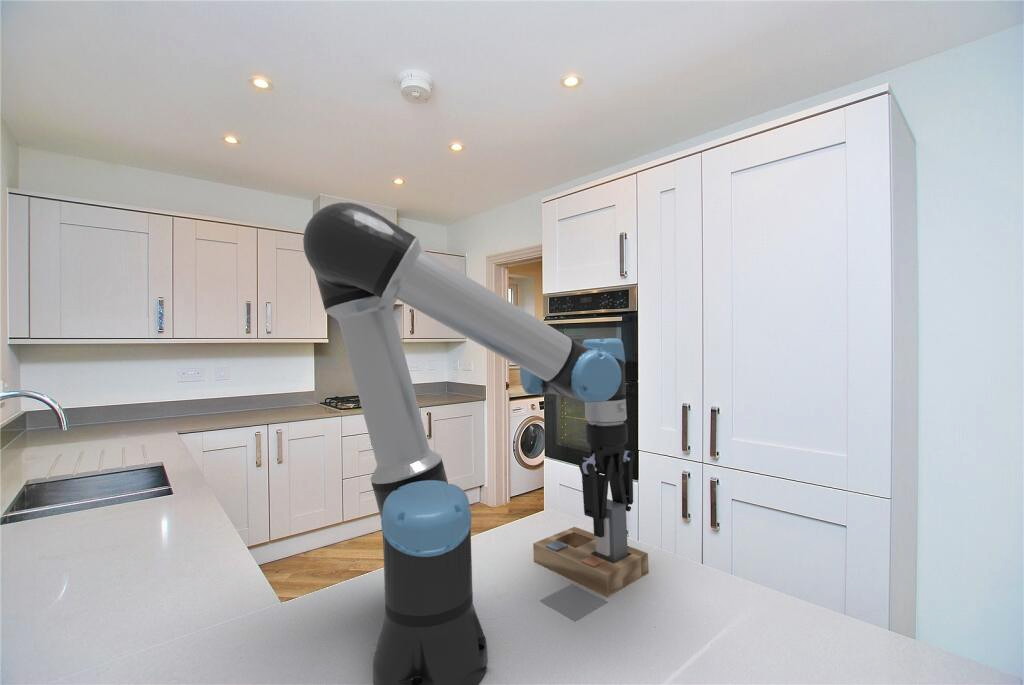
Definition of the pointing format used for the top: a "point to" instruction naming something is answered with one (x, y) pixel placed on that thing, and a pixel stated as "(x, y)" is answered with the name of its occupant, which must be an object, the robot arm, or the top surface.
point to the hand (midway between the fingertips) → (611, 549)
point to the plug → (616, 532)
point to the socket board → (585, 573)
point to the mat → (573, 602)
